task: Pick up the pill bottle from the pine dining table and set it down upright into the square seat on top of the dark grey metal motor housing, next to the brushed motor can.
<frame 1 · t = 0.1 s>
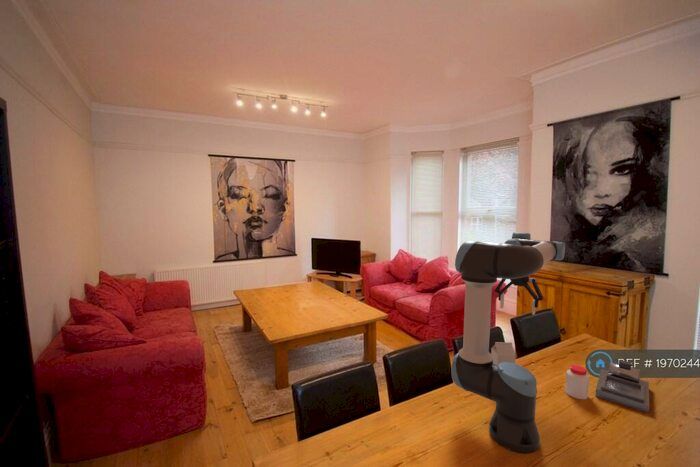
hand: (517, 310, 152), 28 cm above the table, fingers open, 13 cm apart
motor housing: (622, 392, 136), on the table
pill bottle: (576, 394, 134), on the table
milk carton: (501, 385, 141), on the table
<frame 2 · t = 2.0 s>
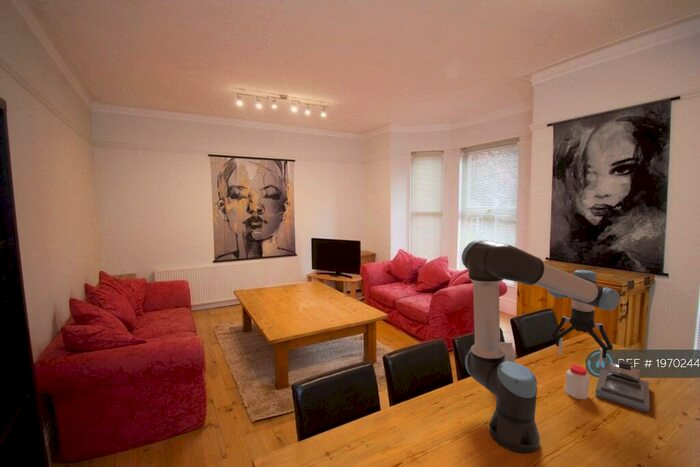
hand: (579, 359, 133), 15 cm above the table, fingers open, 13 cm apart
nothing on the table moved.
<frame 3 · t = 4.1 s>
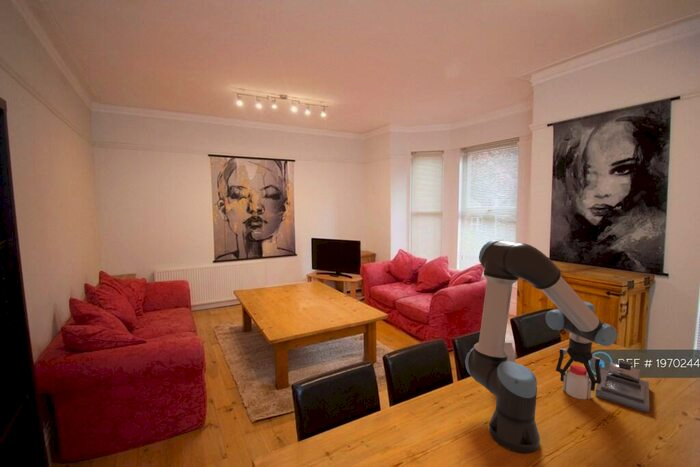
hand: (576, 393, 134), 0 cm above the table, fingers closed on pill bottle, 8 cm apart
pill bottle: (576, 394, 134), on the table, touching gripper
everything else where it was.
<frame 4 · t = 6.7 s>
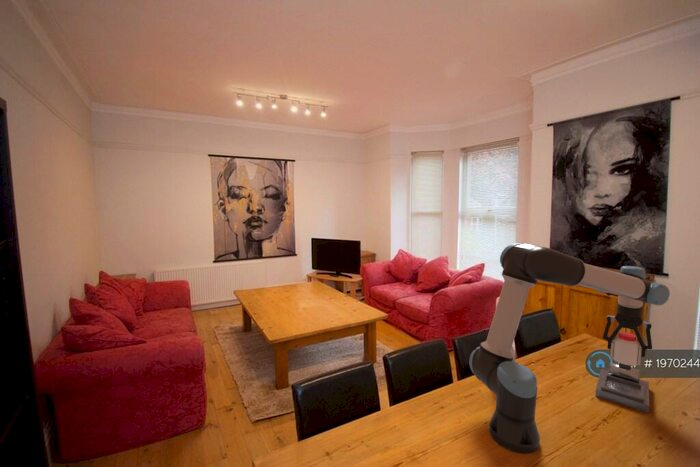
hand: (624, 360, 132), 15 cm above the table, fingers closed on pill bottle, 8 cm apart
pill bottle: (624, 361, 132), point 14 cm above the table, touching gripper
everything else where it was.
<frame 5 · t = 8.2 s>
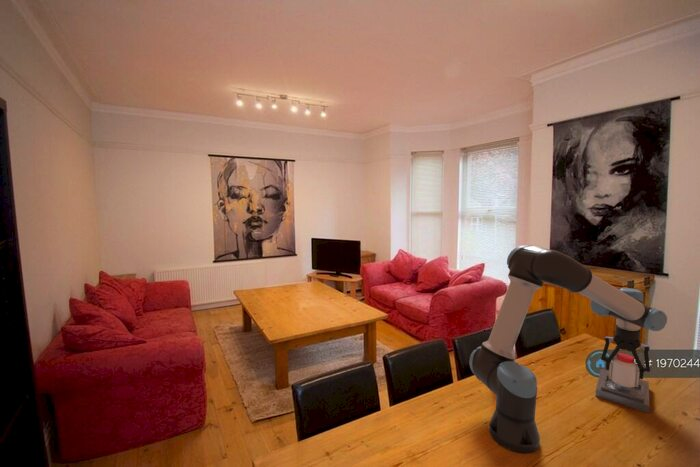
hand: (623, 381, 133), 6 cm above the table, fingers closed on pill bottle, 8 cm apart
pill bottle: (623, 382, 133), point 5 cm above the table, touching gripper
everything else where it was.
when the fingers open (5 cm above the table, at t = 9.2 s): pill bottle drops 2 cm, resting on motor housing.
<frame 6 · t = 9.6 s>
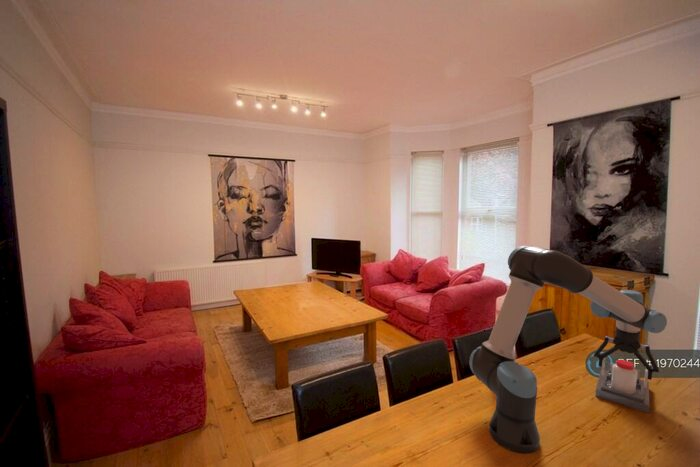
hand: (623, 380, 133), 7 cm above the table, fingers open, 13 cm apart
pill bottle: (622, 389, 133), point 3 cm above the table, touching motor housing
everything else where it was.
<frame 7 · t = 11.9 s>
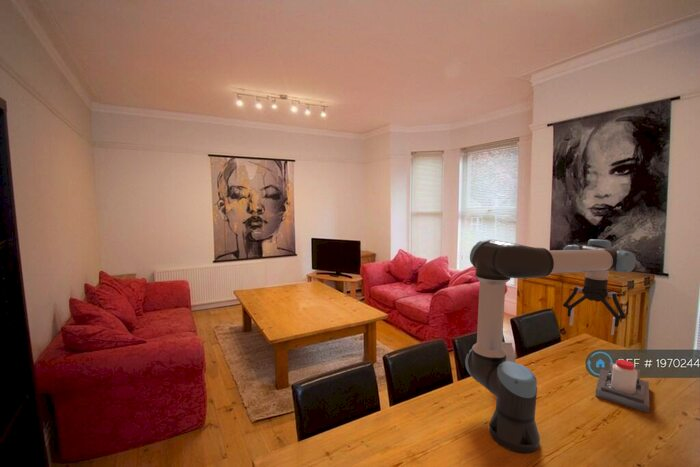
hand: (591, 329, 133), 27 cm above the table, fingers open, 13 cm apart
nothing on the table moved.
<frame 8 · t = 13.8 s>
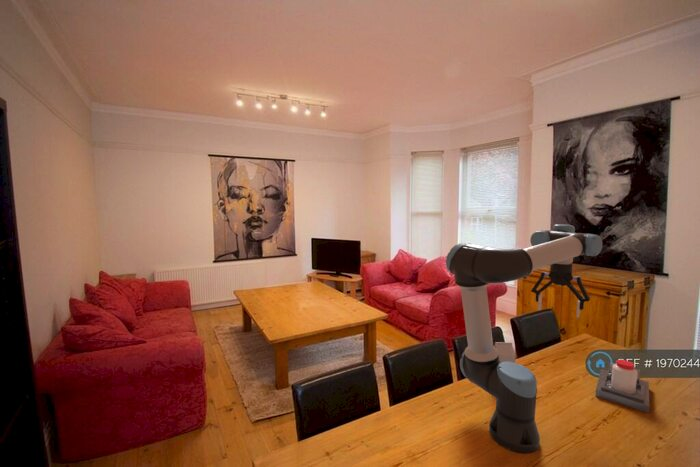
hand: (558, 313, 135), 33 cm above the table, fingers open, 13 cm apart
nothing on the table moved.
at the end: pill bottle inside the target area on the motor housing (0.1 cm from its centre), point 2.8 cm above the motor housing's base; pill bottle tilted 0°; the gripper is holding nothing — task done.
